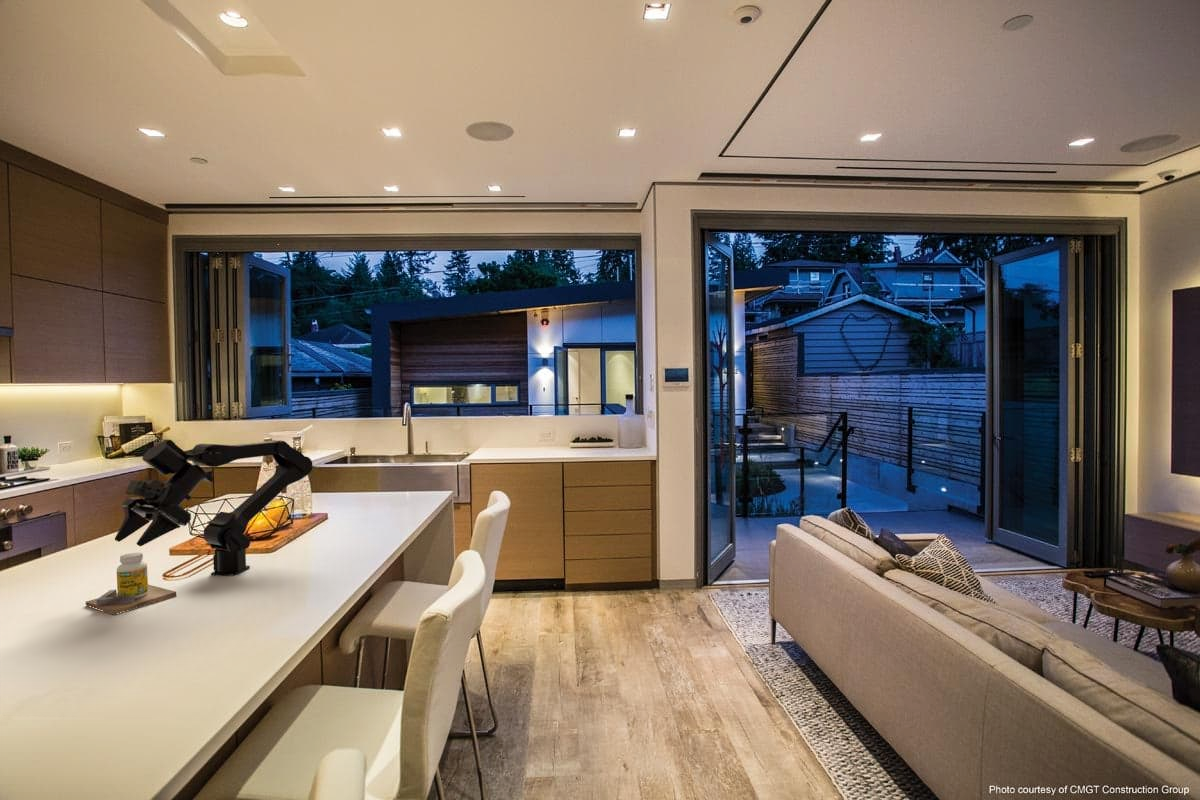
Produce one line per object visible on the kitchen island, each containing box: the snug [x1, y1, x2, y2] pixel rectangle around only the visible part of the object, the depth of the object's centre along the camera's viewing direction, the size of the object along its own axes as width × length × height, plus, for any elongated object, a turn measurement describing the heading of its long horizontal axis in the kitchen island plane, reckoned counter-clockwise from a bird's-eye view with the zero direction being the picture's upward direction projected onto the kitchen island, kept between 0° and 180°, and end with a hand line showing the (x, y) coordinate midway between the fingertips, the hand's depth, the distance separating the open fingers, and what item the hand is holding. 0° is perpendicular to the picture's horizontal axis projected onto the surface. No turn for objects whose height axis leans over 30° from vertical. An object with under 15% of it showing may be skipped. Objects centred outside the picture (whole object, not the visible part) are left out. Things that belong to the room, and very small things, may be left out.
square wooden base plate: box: [85, 584, 177, 615], centre depth 128 cm, size 12×12×2 cm
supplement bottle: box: [116, 551, 149, 599], centre depth 128 cm, size 5×5×10 cm
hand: (127, 542), depth 127 cm, fingers open, 9 cm apart
